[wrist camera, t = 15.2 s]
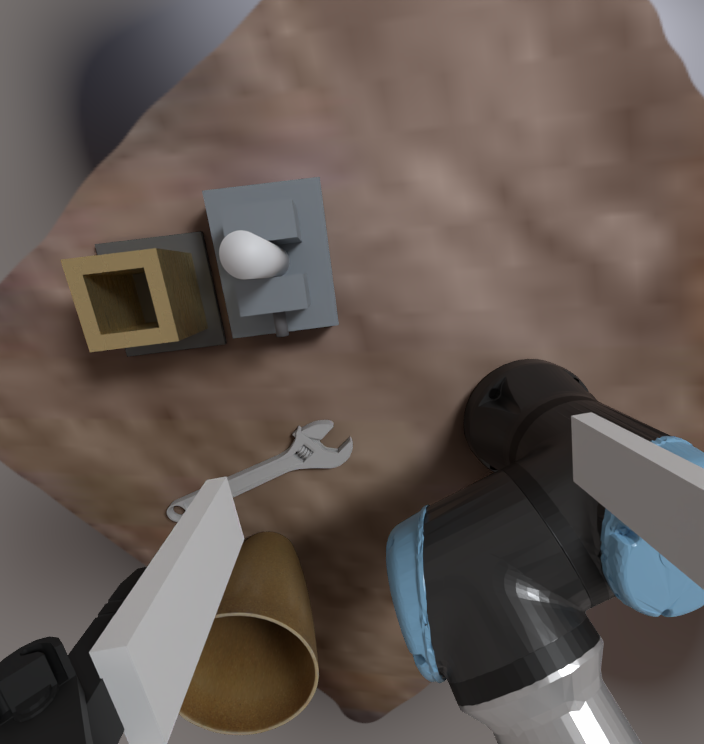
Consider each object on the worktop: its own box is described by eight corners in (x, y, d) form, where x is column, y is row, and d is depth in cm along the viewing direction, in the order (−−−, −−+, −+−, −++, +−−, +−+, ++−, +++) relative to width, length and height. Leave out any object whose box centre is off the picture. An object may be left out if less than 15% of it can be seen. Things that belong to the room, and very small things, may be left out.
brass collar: (208, 328, 41) (179, 340, 33) (136, 337, 40) (89, 352, 33) (191, 253, 38) (155, 248, 31) (115, 262, 38) (60, 259, 31)
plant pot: (345, 555, 50) (350, 680, 35) (265, 614, 52) (237, 757, 37) (270, 484, 47) (240, 587, 31) (188, 549, 49) (121, 677, 33)
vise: (338, 320, 42) (341, 350, 25) (242, 332, 41) (183, 370, 25) (320, 186, 38) (312, 120, 22) (215, 199, 38) (126, 142, 21)
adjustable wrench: (178, 517, 48) (172, 527, 46) (154, 477, 46) (147, 485, 45) (356, 453, 47) (357, 460, 45) (338, 409, 45) (338, 415, 43)
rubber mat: (226, 343, 42) (225, 344, 41) (130, 355, 41) (127, 356, 41) (202, 232, 38) (200, 231, 38) (98, 244, 38) (94, 244, 38)
